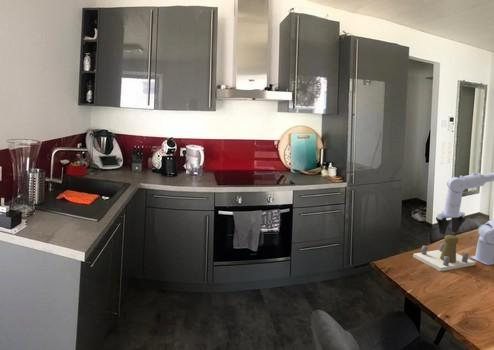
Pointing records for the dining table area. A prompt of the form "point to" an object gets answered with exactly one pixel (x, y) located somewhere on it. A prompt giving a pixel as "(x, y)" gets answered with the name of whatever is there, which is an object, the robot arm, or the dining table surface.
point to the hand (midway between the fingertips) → (448, 232)
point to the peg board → (435, 261)
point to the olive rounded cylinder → (449, 248)
